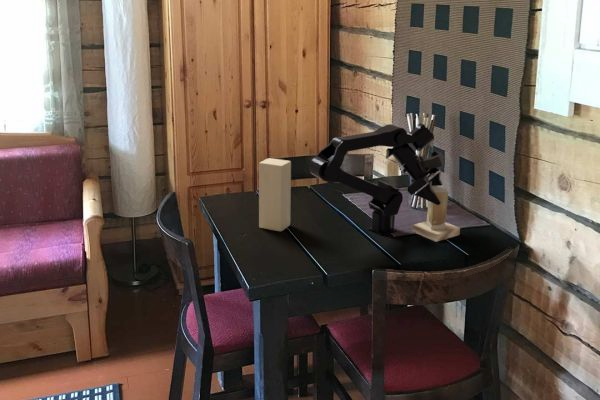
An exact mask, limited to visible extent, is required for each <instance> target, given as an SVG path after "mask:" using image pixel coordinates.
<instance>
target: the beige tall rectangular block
mask: <svg viewBox="0 0 600 400" xmlns="http://www.w3.org/2000/svg"><path fill="white" fill-rule="evenodd" d="M291 182H292V161H291V160H287V159H286V160H285V159H280V158H279V159H277V158H272V157H269V158H265V159H264V160H262V161H260V162H259V163H258V227H259V228H260V229H265V230H270V231H276V232H282V231H284V230H286V229H287V228H288V227H289V226H291V202H292V201H291V199H292V198H291V189H292V187H291V185H292V183H291Z"/></svg>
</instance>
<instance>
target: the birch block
mask: <svg viewBox="0 0 600 400" xmlns="http://www.w3.org/2000/svg"><path fill="white" fill-rule="evenodd" d="M412 232H413V233H415V232H416V233H415V234H417V235H420V236H422V237H424V238H426V239H429V240H431V241H433V242H439V241H440V242H441V241H444V240H446V239H450V238H454V237H457V236H460V234H461V227H459V226H456V225H453V224H451V223H449V222H446V221H445V230H431V229H430V227H429V226H428V224H427V220H426V221H423V222H418V223H415V224H413V225H412Z"/></svg>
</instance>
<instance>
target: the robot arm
mask: <svg viewBox="0 0 600 400" xmlns="http://www.w3.org/2000/svg"><path fill="white" fill-rule="evenodd" d="M433 141H435V136H434V134H433V132H431V130H430V129H429V128H428V127H426V125H425V124H423V123H421V122H420V123H418V124H417V125H416V127H415V128H413V129H412V130H410V132H407V130H406V129H404V128H403V127H400V126H397V125H394V124H391V123H390V124H389V123H388V124H385V125H383V126H380V127H379V128H377V129H376V130H374V131H370V132H364V133H359V134H352V135H351V134H350V135H345V136H337V137H334V138H332V140H331V141H330V142H329V144H327V145H326V146H325V147H324V148H322V149H321V150H319V152H318V153H317V154H316V156H314V157H313V158H312V159H311V161H310V162H309V165H308V168H309V169H308V170H309V173H310V174H311V175H313V176H314V177H316V178H318V179H320V180H322V181H324V182H327V183H328V182H329V183H333V184H334V183H336V184H341V185H344V186H347V187H348V188H351V189H354V190H356V191H358V192H361V193H363V194H366V195H368V196H370V197H371V199H370V200H369V201H368V207H369V209H371V210H372V214H371V215H372V217H371V226H369V227H368V230H369V231H372V232H373V233H377V234H378V235H381V236H384V235H387V234H390V233H395V232H397V231H398V229H397V228H396V227H395V220H396V215H398V214H399V210H400V209H401V205H402V202H403V199H404V198H403V197H404V196H403V193H402V192H401V191H400V188H399V187H396V186H394V185H392V184H390V183H387V182H385V181H382V180H380V179H379V180H378V182H377V183H373V182H370V181H368V180H366V179H364V178H361V177H359V176H357V175H355V174H352V173H349V172H347V171H345V170H344V169H342V165H343V162H344V159H345V157H346V155H347V154H348V152H353V151H359V150H364V149H370V148H375V147H386V148H387V147H388V148H387V149H385V152H386V155H385V159H390V157H393V158H394V159H395V160H396V161H397V163H399V165H400V166H401V167H402V172H403V173H404V174H405V173H407V175H408V176H409V177H410V178H411V183H410V184H409V185H408V186H407V192H408V194H410V196H413V195H414V196H416V197H419V198H421V199H424V200H426V201H427V202H428V201H430V202H432V203H434V204H436V205H439V204H441V202H440V201H439V199H438V197H437V196H436V194H435V193H434V191H433V190H432V188H431V186H444V185H443V182H442V179H441V175H442V166H444V164H446V161H445V159H444V158H445V155H443V154H442V152H439V151H438V150H434V151H432V152H431V154H430V156H428V157H426V158H424V156H423V155H420V156H419V155H418V154H417V152H421V151H422V150H424V149H425V148H426V147H427V146H428V145H429V144H431V143H432V142H433ZM331 157H332V159H331V160H329V159H330V158H331Z"/></svg>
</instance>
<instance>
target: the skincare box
mask: <svg viewBox="0 0 600 400" xmlns="http://www.w3.org/2000/svg"><path fill="white" fill-rule="evenodd" d="M431 188H432V190H433V191H434V193H435V194H436V196H437V197H438V199H439V201H440V202H441V204H439V205H436V204H434V203H432V202H430V201H428V200H427V203H428V204H427V212H426V213H427V215H426V221H427V224H428V226H429V227H430V229H431V230H445V222H446V219H447V210H448V200H449V191H448V190H447V188H445V186H444V185H443V186H431Z"/></svg>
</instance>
